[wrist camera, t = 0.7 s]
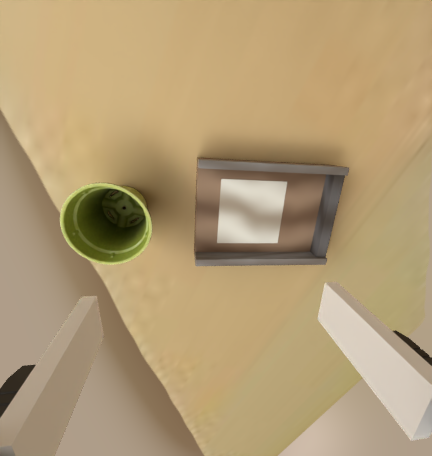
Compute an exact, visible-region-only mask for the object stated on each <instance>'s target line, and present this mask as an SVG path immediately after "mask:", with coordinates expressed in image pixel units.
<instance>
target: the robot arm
mask: <svg viewBox="0 0 432 456" xmlns="http://www.w3.org/2000/svg"><path fill="white" fill-rule="evenodd" d="M318 321H319V322H320V323H321V324H322V326H323V327H324V328H325V330H326V331H327V332H328V333H329V335H330V336H331V337H332V339H333V340H334V341H335V342H336V344H337V345H338V346H339V348H340V349H341V350H342V352H343V353H344V354H345V355H346V357H347V358H348V359H349V361H350V362H351V363H352V364H353V366H354V367H355V368H356V370H357V371H358V372H359V374H360V375H361V376H362V377H363V379H364V380H365V381H366V382H367V384H368V385H369V386H370V388H371V389H372V390H373V391H374V393H375V394H376V396H377V397H378V398H379V399H380V401H381V402H382V403H383V404H384V406H385V407H386V408H387V410H388V411H389V412H390V413H391V415H392V416H393V417H394V419H395V420H396V421H397V423H398V424H399V425H400V427H401V428H402V429H403V430H404V432H405V433H406V434H407V436H408V437H409V438H410V439H411V441H412V440H418V439H424V438H429V436H430V435H431V433H432V358H430V357H429V355H428V354H427V353H425V351H423V350H421V349H420V347H419V346H418V345H416V344H415V343H414V342H413V341H412V340H410V339H409V338H408V337H406V336H404V335H403V334H401V333H399V332H397V331H392V330H390V329H389V328H388V327H387V326H386V325H385V324H384V323H383V322H381V321H380V320H379V319H378V318H377V317H376V316H375V315H374V314H372V313H371V312H370V311H369V310H368V309H367V308H366V307H365V306H363V305H362V304H361V303H360V302H359V301H358V300H357V299H356V298H354V297H353V296H352V295H351V294H350V293H349V292H348V291H347V290H345V289H344V288H343V287H342V286H341V285H340V284H339V283H338V282H325V285H324V290H323V295H322V300H321V305H320V310H319V315H318ZM103 338H104V335H103V329H102V323H101V317H100V311H99V306H98V300H97V296H88V297H81V298H80V300H79V301H78V303H77V305H76V306H75V307H74V309H73V310H72V312H71V313H70V315H69V316H68V318H67V319H66V321H65V322H64V324H63V325H62V327H61V328H60V330H59V331H58V333H57V334H56V336H55V337H54V339H53V340H52V342H51V343H50V345H49V346H48V348H47V349H46V351H45V352H44V354H43V355H42V357H41V358H40V360H39V361H38V363H37V364H36V365H28V366H22V367H21V368H20V369H18V370H17V371H16V372H15V373H14V374H13V375H12V376H10V377H9V378H8V379H7V380H6V382H5V383H4V384H3V386H2V387H1V388H0V456H55V454H56V451H57V449H58V446H59V444H60V442H61V439H62V437H63V434H64V432H65V430H66V427H67V425H68V422H69V420H70V418H71V415H72V413H73V410H74V408H75V405H76V403H77V401H78V398H79V396H80V393H81V391H82V388H83V386H84V384H85V381H86V379H87V376H88V374H89V371H90V369H91V366H92V364H93V362H94V359H95V357H96V355H97V352H98V350H99V347H100V345H101V342H102V340H103Z"/></svg>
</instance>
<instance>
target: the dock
mask: <svg viewBox="0 0 432 456" xmlns="http://www.w3.org/2000/svg"><path fill="white" fill-rule="evenodd" d="M348 172H349V168H347V167H341V166H334V165H323V164H304V163H286V162H267V161H249V160H231V159H212V158H197V179H196V211H195V244H194V255H195V265H196V266H245V265H326V262H327V258H326V253H327V248H328V244H329V240H330V236H331V232H332V228H333V223H334V219H335V215H336V211H337V207H338V203H339V198H340V194H341V190H342V186H343V182H344V178H345V175H348Z"/></svg>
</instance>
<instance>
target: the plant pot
mask: <svg viewBox="0 0 432 456" xmlns="http://www.w3.org/2000/svg"><path fill="white" fill-rule="evenodd" d="M114 191H118V193H116V194H114V195H113V196H111V197H110V194H111V193H113V192H114ZM123 206H125V207H126V209H123V208H122V207H123ZM108 211H110V213H111V215H112V216H113V218H115V219H112V218H111V217H110V216H109V214H108ZM137 217H138V220H137V221H135V222H134V223H130V222H131V221H133V220H135V219H136V218H137ZM60 226H61V230H62V233H63V235H64V237H65V239H66V241H67V243H68V244H69V245H70V246H71V248H72V249H74V250H75V251H76V252H77V253H78V254H79V255H81V256H83V257H84V258H86V259H88V260H90V261H93V262H96V263H100V264H106V265H114V264H122V263H125V262H128V261H130V260H132V259H134V258H136V257H137V256H139V255H140V254H141V253H142V252H143V251H144V250H145V249H146V247H147V246H148V244H149V241H150V239H151V235H152V221H151V217H150V214H149V212H148V209H147V205H146V201H145V199H144V197H143V196H142V195H141V194H140V193H139V192H138V191H137V190H135V189H133V188H131V187H128V186H118V185H115V184H110V183H93V184H88V185H85V186H83V187H81V188H79V189H77V190H76V191H74V192H73V193H72V194H71V195H70V196H69V197H68V198H67V199H66V201H65V203H64V204H63V207H62V210H61V214H60Z"/></svg>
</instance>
